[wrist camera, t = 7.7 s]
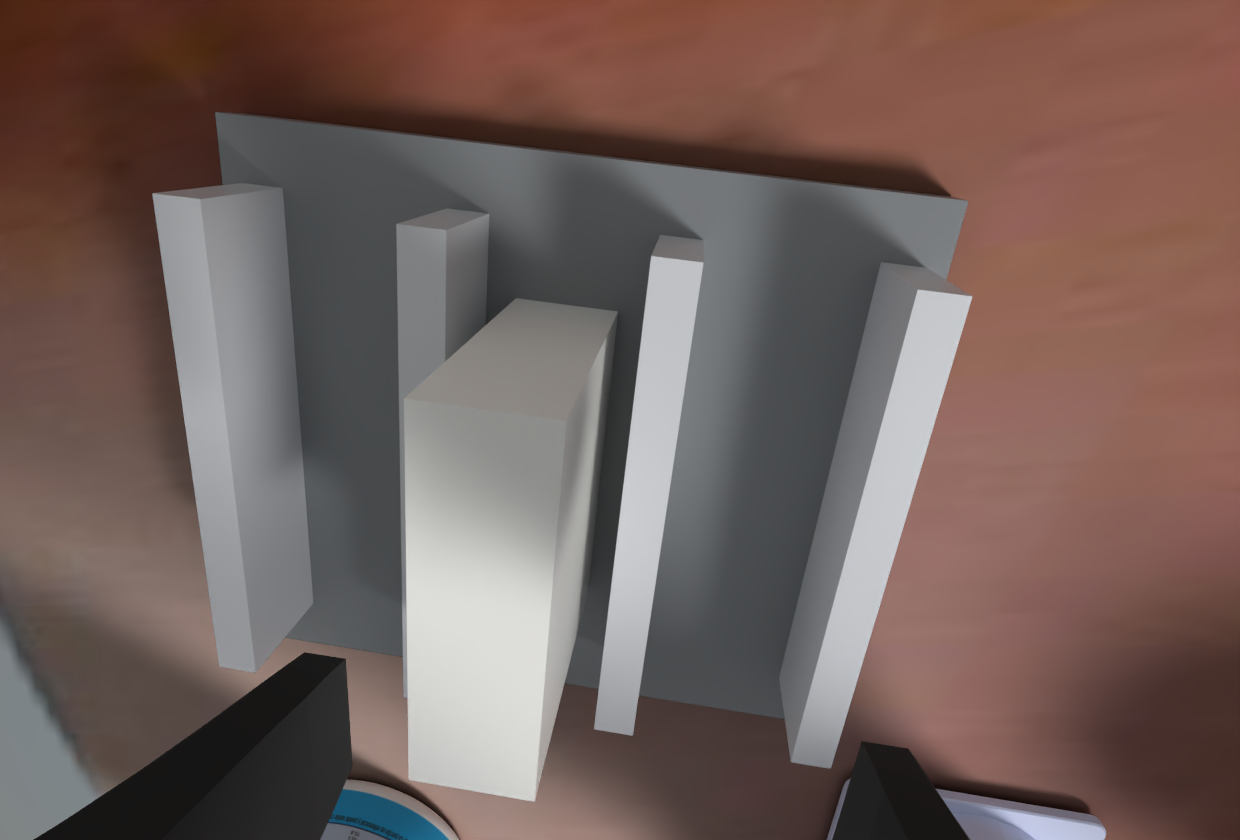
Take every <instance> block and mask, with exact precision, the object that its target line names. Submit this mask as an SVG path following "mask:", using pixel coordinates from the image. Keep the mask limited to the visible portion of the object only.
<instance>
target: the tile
mask: <svg viewBox="0 0 1240 840" xmlns="http://www.w3.org/2000/svg"><path fill="white" fill-rule="evenodd" d="M617 318H618V311H610V310H602V309H595V308H587V307H579V306H572V305H564V304H557V303H549V302H541V301H534V300H526V299H518V298H516V299H515V300H513V301H512V302H511V303H510V304H509V305H508V306H507V307H506V308H505V309H503V310H502V311H501V312H500V313H499V314H498V315H497V316H496V317H494V318H493V319H492V320H491V321H490V322H489V323H488V324H487V325H486V326H484V327H483V328H482V329H481V330H480V331H479V332H478V333H477V334H475V335H474V336H473V337H472V338H471V339H470V340H469V341H468V342H467V343H465V344H464V345H463V346H462V347H461V348H460V349H459V350H458V351H456V352H455V353H454V354H453V355H452V356H451V357H450V358H449V359H448V360H446V361H445V362H444V363H443V364H442V365H441V366H440V367H439V368H437V369H436V370H435V371H434V372H433V373H432V374H431V375H430V376H429V377H427V378H426V379H425V380H424V381H423V382H422V383H421V384H420V385H418V386H417V387H416V388H415V389H414V390H413V391H412V392H411V393H409V394H408V395H407V396H406V397H405V398H404V440H405V521H406V602H407V683H408V764H409V780H413V781H419V782H424V783H430V784H436V785H442V786H447V787H453V788H459V789H465V790H470V791H476V792H482V793H487V794H493V795H499V796H505V797H510V798H516V799H522V800H528V801H533V802H535V798H536V794H537V790H538V786H539V782H540V779H541V775H542V771H543V767H544V763H545V759H546V755H547V751H548V747H549V743H550V739H551V735H552V731H553V727H554V723H555V719H556V715H557V711H558V707H559V703H560V699H561V695H562V691H563V687H564V683H565V679H566V676H567V672H568V668H569V664H570V660H571V656H572V652H573V648H574V644H575V640H576V636H577V632H578V628H579V624H580V620H581V616H582V612H583V608H584V604H585V600H586V596H587V592H588V588H589V580H590V571H591V562H592V552H593V543H594V534H595V524H596V515H597V505H598V496H599V487H600V477H601V468H602V459H603V449H604V440H605V430H606V421H607V412H608V402H609V393H610V384H611V374H612V365H613V355H614V346H615V337H616V327H617Z"/></svg>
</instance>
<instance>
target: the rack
mask: <svg viewBox="0 0 1240 840" xmlns="http://www.w3.org/2000/svg"><path fill="white" fill-rule="evenodd" d="M215 117H216V126H217V136H218V145H219V155H220V165H221V174H222V184H223V185H220V186H211V187H202V188H194V189H185V190H176V191H167V192H159V193H152V195H153V202H154V209H155V216H156V223H157V230H158V237H159V244H160V251H161V258H162V265H163V272H164V280H165V287H166V294H167V301H168V308H169V315H170V322H171V329H172V336H173V343H174V350H175V357H176V364H177V371H178V378H179V385H180V392H181V399H182V407H183V414H184V421H185V428H186V435H187V442H188V449H189V456H190V463H191V470H192V477H193V484H194V491H195V498H196V505H197V512H198V519H199V527H200V534H201V541H202V548H203V555H204V562H205V569H206V576H207V583H208V590H209V597H210V604H211V611H212V618H213V625H214V632H215V639H216V647H217V654H218V661H219V667H224V668H230V669H236V670H242V671H248V672H254V673H256V672H257V671H258V669H259V668H260V667H261V666H262V665H263V663H264V662H265V661H266V660H267V659H268V657H269V656H270V655H271V654H272V653H273V651H274V650H275V649H276V648H277V646H278V645H279V644H280V643H281V642H282V640H283V639H284V638H290V639H296V640H302V641H309V642H315V643H321V644H327V645H333V646H339V647H345V648H351V649H358V650H364V651H370V652H376V653H382V654H388V655H394V656H400V657H403V693H404V698H408V683H407V602H406V521H405V440H404V398H405V397H406V396H407V395H408V394H409V393H411V392H412V391H413V390H414V389H415V388H416V387H417V386H418V385H420V384H421V383H422V382H423V381H424V380H425V379H426V378H427V377H429V376H430V375H431V374H432V373H433V372H434V371H435V370H436V369H437V368H439V367H440V366H441V365H442V364H443V363H444V362H445V361H446V360H448V359H449V358H450V357H451V356H452V355H453V354H454V353H455V352H456V351H458V350H459V349H460V348H461V347H462V346H463V345H464V344H465V343H467V342H468V341H469V340H470V339H471V338H472V337H473V336H474V335H475V334H477V333H478V332H479V331H480V330H481V329H482V328H483V327H484V326H486V325H487V324H488V323H489V322H490V321H491V320H492V319H493V318H494V317H496V316H497V315H498V314H499V313H500V312H501V311H502V310H503V309H505V308H506V307H507V306H508V305H509V304H510V303H511V302H512V301H513V300H515V299H516V298H518V299H526V300H534V301H541V302H549V303H557V304H564V305H572V306H579V307H587V308H595V309H602V310H610V311H618V318H617V327H616V337H615V346H614V355H613V365H612V374H611V384H610V393H609V402H608V412H607V421H606V430H605V440H604V449H603V459H602V468H601V477H600V487H599V496H598V505H597V515H596V524H595V534H594V543H593V552H592V562H591V571H590V580H589V588H588V592H587V596H586V600H585V604H584V608H583V612H582V616H581V620H580V624H579V628H578V632H577V636H576V640H575V644H574V648H573V652H572V656H571V660H570V664H569V668H568V672H567V676H566V679H565V683H566V684H572V685H578V686H584V687H590V688H596V689H599V691H598V699H597V708H596V716H595V724H594V729H595V730H601V731H607V732H613V733H619V734H625V735H631V736H633V730H634V724H635V717H636V710H637V704H638V697H639V696H645V697H651V698H657V699H663V700H670V701H676V702H682V703H688V704H694V705H700V706H706V707H712V708H719V709H725V710H731V711H737V712H743V713H749V714H755V715H761V716H767V717H774V718H780V719H785V725H786V732H787V739H788V747H789V754H790V761H791V762H793V763H799V764H805V765H811V766H817V767H823V768H829V769H831V766H832V763H833V760H834V756H835V753H836V750H837V746H838V743H839V740H840V736H841V733H842V730H843V726H844V723H845V720H846V716H847V713H848V710H849V706H850V703H851V700H852V696H853V693H854V690H855V686H856V683H857V680H858V676H859V673H860V670H861V666H862V663H863V660H864V656H865V653H866V650H867V646H868V643H869V640H870V636H871V633H872V630H873V626H874V623H875V620H876V616H877V613H878V610H879V606H880V603H881V600H882V596H883V593H884V590H885V586H886V583H887V580H888V576H889V573H890V570H891V566H892V563H893V560H894V556H895V553H896V550H897V546H898V543H899V540H900V536H901V533H902V530H903V526H904V523H905V520H906V516H907V513H908V510H909V506H910V503H911V500H912V496H913V493H914V490H915V486H916V483H917V480H918V476H919V473H920V470H921V466H922V463H923V460H924V456H925V453H926V450H927V446H928V443H929V440H930V436H931V433H932V430H933V426H934V423H935V420H936V416H937V413H938V410H939V406H940V403H941V400H942V396H943V393H944V390H945V386H946V383H947V380H948V376H949V373H950V370H951V366H952V363H953V360H954V356H955V353H956V350H957V346H958V343H959V340H960V336H961V333H962V330H963V326H964V323H965V320H966V316H967V313H968V310H969V306H970V303H971V300H972V296H971V295H969V294H968V293H966V292H965V291H963V290H961V289H960V288H958V287H957V286H955V285H953V284H952V283H950V282H948V281H947V280H946V279H947V275H948V272H949V268H950V264H951V261H952V257H953V254H954V250H955V247H956V243H957V240H958V236H959V233H960V229H961V226H962V222H963V219H964V215H965V211H966V208H967V204H968V201H967V200H963V199H959V198H956V197H950V196H942V195H933V194H925V193H916V192H908V191H899V190H891V189H882V188H874V187H865V186H857V185H848V184H840V183H831V182H823V181H814V180H806V179H797V178H789V177H780V176H772V175H763V174H755V173H746V172H738V171H729V170H721V169H712V168H704V167H695V166H687V165H678V164H670V163H661V162H653V161H644V160H636V159H627V158H619V157H610V156H602V155H593V154H585V153H576V152H568V151H559V150H551V149H542V148H534V147H525V146H517V145H508V144H500V143H491V142H483V141H474V140H466V139H457V138H449V137H440V136H432V135H423V134H415V133H406V132H398V131H389V130H381V129H372V128H364V127H355V126H347V125H338V124H330V123H321V122H313V121H304V120H296V119H287V118H279V117H270V116H262V115H253V114H245V113H226V112H215Z"/></svg>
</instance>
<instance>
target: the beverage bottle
mask: <svg viewBox="0 0 1240 840" xmlns="http://www.w3.org/2000/svg"><path fill="white" fill-rule="evenodd" d="M320 840H459V838H458V837H457V835H456V834H455V833H454V831H453V830H452V829H451V828H450V826H449V825H448V824H447V823H446V822H445V821H444V820H443V819H442V818H441V817H440V816H439V815H437V814H436V813H435V812H434V811H433V810H431V809H430V808H429V807H427V806H426V805H424V804H423V803H421V802H419V801H418V800H416V799H414V798H413V797H411V796H409V795H407V794H405V793H402V792H400V791H398V790H395V789H392V788H390V787H387V786H383V785H380V784H376V783H371V782H366V781H360V780H348V779H347V780H346V782H345V785H344V787H343V789H342V792H341V794H340V796H339V799H338V801H337V804H336V806H335V808H334V810H333V813H332V815H331V817H330V819H329V821H328V824H327V826H326V828H325V830H324V833H323V835H322V837H321V839H320Z"/></svg>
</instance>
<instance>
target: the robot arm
mask: <svg viewBox="0 0 1240 840" xmlns="http://www.w3.org/2000/svg"><path fill="white" fill-rule="evenodd" d="M351 768H352V752H351V736H350V720H349V704H348V688H347V672H346V659H342V658H336V657H330V656H324V655H317V654H311V653H305V652H304V653H303V654H302V655H300V656H299V657H297V658H296V659H295V660H293V661H292V662H290V663H289V664H288V665H286V666H285V667H283V668H282V669H281V670H279V671H278V672H276V673H275V674H274V675H272V676H271V677H270V678H268V679H267V680H265V681H264V682H263V683H261V684H260V685H259V686H257V687H256V688H255V689H253V690H252V691H250V692H249V693H248V694H246V695H245V696H244V697H242V698H241V699H240V700H238V701H237V702H235V703H234V704H233V705H231V706H230V707H229V708H227V709H226V710H225V711H223V712H222V713H220V714H219V715H218V716H216V717H215V718H214V719H212V720H211V721H209V722H208V723H207V724H205V725H204V726H203V727H201V728H200V729H198V730H197V731H195V732H194V733H193V734H191V735H190V736H188V737H187V738H186V739H184V740H183V741H181V742H180V743H179V744H177V745H176V746H174V747H173V748H171V749H170V750H169V751H167V752H166V753H164V754H163V755H162V756H160V757H159V758H157V759H156V760H155V761H153V762H152V763H150V764H149V765H147V766H146V767H144V768H143V769H142V770H140V771H139V772H137V773H136V774H134V775H133V776H131V777H130V778H128V779H127V780H125V781H124V782H122V783H121V784H119V785H118V786H116V787H114V788H113V789H111V790H110V791H108V792H107V793H105V794H104V795H102V796H101V797H99V798H98V799H96V800H95V801H93V802H92V803H90V804H89V805H87V806H86V807H84V808H83V809H81V810H80V811H78V812H77V813H75V814H74V815H72V816H71V817H69V818H68V819H66V820H65V821H63V822H62V823H60V824H58V825H57V826H55V827H54V828H52V829H50V830H49V831H47V832H46V833H44V834H42V835H41V836H39V837H37V838H36V839H34V840H320V839H321V837H322V835H323V833H324V830H325V828H326V826H327V824H328V821H329V819H330V817H331V815H332V813H333V810H334V808H335V806H336V804H337V801H338V799H339V796H340V794H341V792H342V789H343V787H344V785H345V782H346V780H347V778H348V775H349V773H350V771H351ZM1105 836H1106V830H1105V828H1104V826H1103V825H1102V823H1101V821H1100V819H1098V818H1097V817H1096V816H1093V815H1090V814H1085V813H1079V812H1073V811H1067V810H1061V809H1055V808H1049V807H1043V806H1037V805H1031V804H1025V803H1019V802H1013V801H1007V800H1001V799H995V798H989V797H983V796H977V795H971V794H965V793H959V792H953V791H947V790H941V789H935V787H934V786H933V784H932V783H931V781H930V780H929V778H928V777H927V775H926V774H925V772H924V771H923V769H922V768H921V766H920V765H919V763H918V762H917V761H916V759H915V758H914V756H913V755H912V753H911V752H910V751H909V749H907V748H900V747H894V746H888V745H881V744H875V743H869V742H863V741H862V743H861V746H860V749H859V752H858V756H857V759H856V762H855V766H854V769H853V772H852V775H851V778H850V779H849V780H847V781H846V782H845V784H844V786H843V789H842V792H841V796H840V799H839V802H838V805H837V808H836V812H835V815H834V818H833V821H832V824H831V828H830V831H829V834H828V837H827V840H1104V839H1105Z"/></svg>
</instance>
